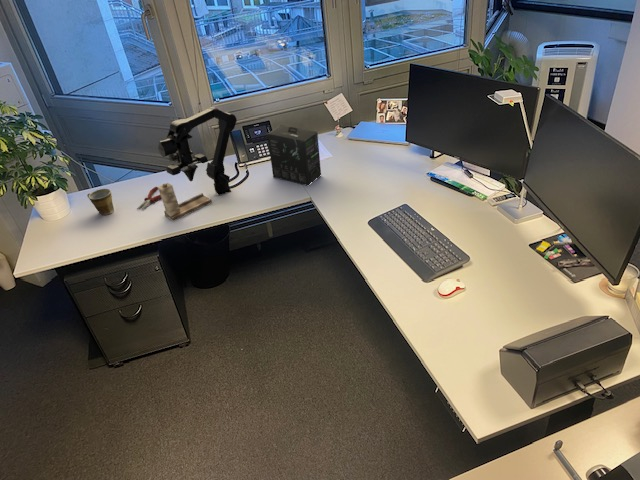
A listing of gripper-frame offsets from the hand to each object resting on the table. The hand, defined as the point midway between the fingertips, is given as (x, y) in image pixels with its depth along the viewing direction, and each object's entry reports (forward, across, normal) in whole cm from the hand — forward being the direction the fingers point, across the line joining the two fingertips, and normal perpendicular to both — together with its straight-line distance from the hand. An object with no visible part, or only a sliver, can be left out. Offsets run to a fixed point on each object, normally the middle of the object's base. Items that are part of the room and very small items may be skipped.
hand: (191, 181), depth 215 cm
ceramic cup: (+14, +31, -33) cm, 47 cm away
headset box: (+10, -47, +22) cm, 53 cm away
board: (+12, +5, 0) cm, 13 cm away
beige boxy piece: (+11, +13, 0) cm, 17 cm away
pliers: (+14, +10, -24) cm, 29 cm away
